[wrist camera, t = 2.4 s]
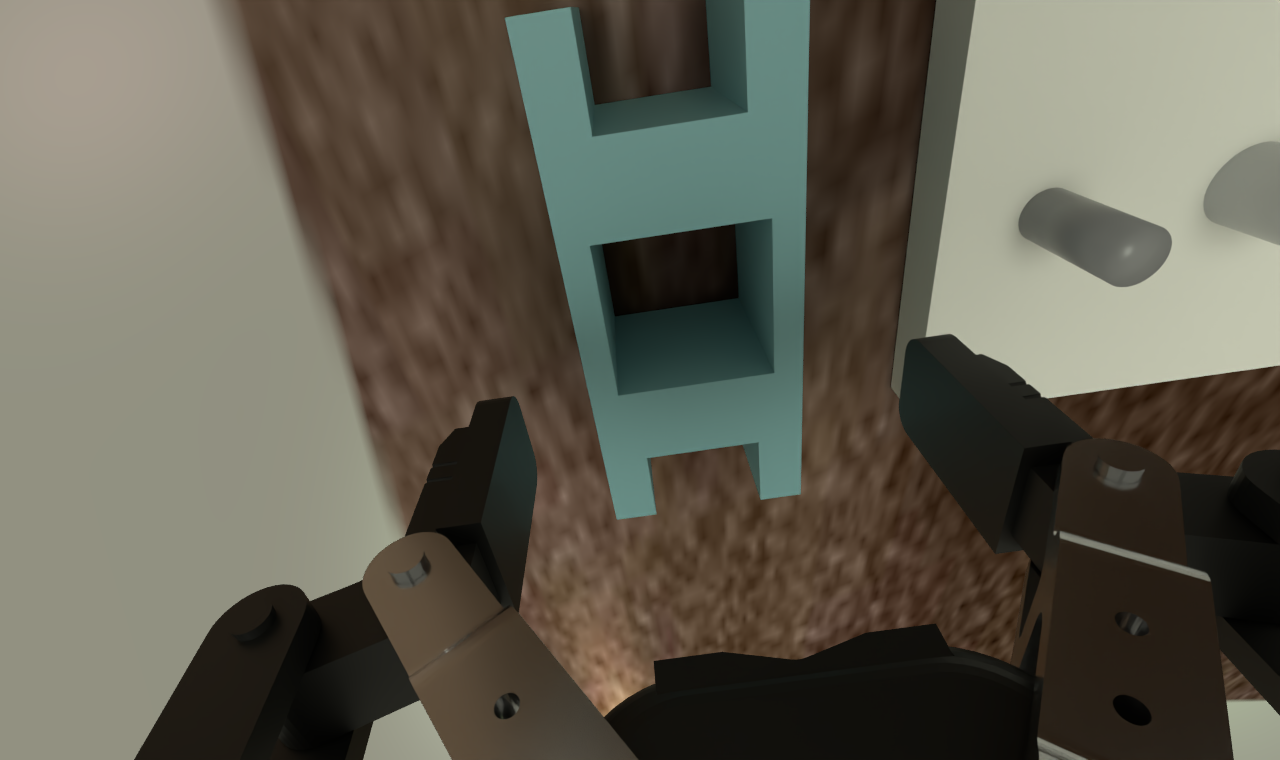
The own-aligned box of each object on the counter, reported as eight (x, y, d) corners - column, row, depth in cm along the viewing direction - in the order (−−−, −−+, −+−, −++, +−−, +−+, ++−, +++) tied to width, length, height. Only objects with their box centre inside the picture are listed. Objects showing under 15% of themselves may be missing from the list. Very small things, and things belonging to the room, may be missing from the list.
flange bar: (531, 15, 16) (504, 17, 11) (753, -22, 15) (810, -33, 11) (614, 426, 23) (616, 519, 19) (763, 405, 23) (800, 493, 19)
